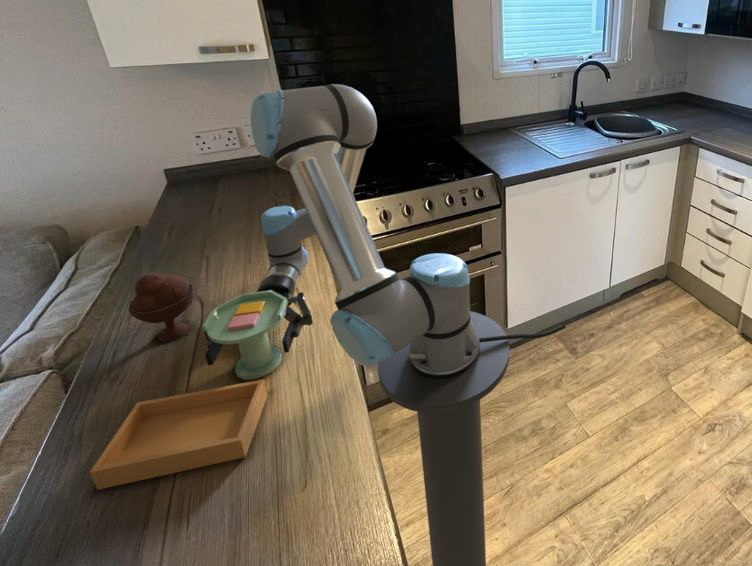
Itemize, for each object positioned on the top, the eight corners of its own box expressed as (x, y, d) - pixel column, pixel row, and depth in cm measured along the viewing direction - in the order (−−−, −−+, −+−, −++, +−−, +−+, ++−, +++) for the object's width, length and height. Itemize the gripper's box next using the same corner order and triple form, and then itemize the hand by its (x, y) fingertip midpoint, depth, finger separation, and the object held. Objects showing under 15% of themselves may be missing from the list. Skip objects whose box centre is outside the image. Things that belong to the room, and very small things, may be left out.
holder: (268, 394, 82) (264, 379, 81) (245, 457, 71) (240, 440, 70) (143, 418, 77) (137, 402, 76) (97, 490, 66) (89, 472, 64)
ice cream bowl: (139, 358, 90) (117, 297, 85) (144, 328, 98) (124, 270, 93) (203, 337, 96) (185, 279, 91) (202, 310, 104) (187, 255, 99)
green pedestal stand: (301, 336, 97) (291, 287, 92) (286, 382, 85) (274, 328, 81) (234, 347, 93) (220, 296, 89) (209, 397, 81) (192, 341, 77)
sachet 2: (259, 316, 85) (258, 312, 85) (254, 326, 83) (253, 323, 82) (234, 319, 84) (233, 316, 84) (227, 330, 81) (226, 327, 81)
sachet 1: (265, 304, 89) (264, 300, 89) (260, 314, 86) (259, 310, 86) (240, 307, 88) (240, 304, 87) (235, 317, 85) (234, 314, 85)
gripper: (336, 293, 108) (320, 356, 88) (222, 309, 101) (178, 381, 82) (331, 267, 105) (314, 326, 86) (214, 282, 99) (167, 349, 79)
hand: (247, 353), depth 84 cm, fingers open, 12 cm apart
